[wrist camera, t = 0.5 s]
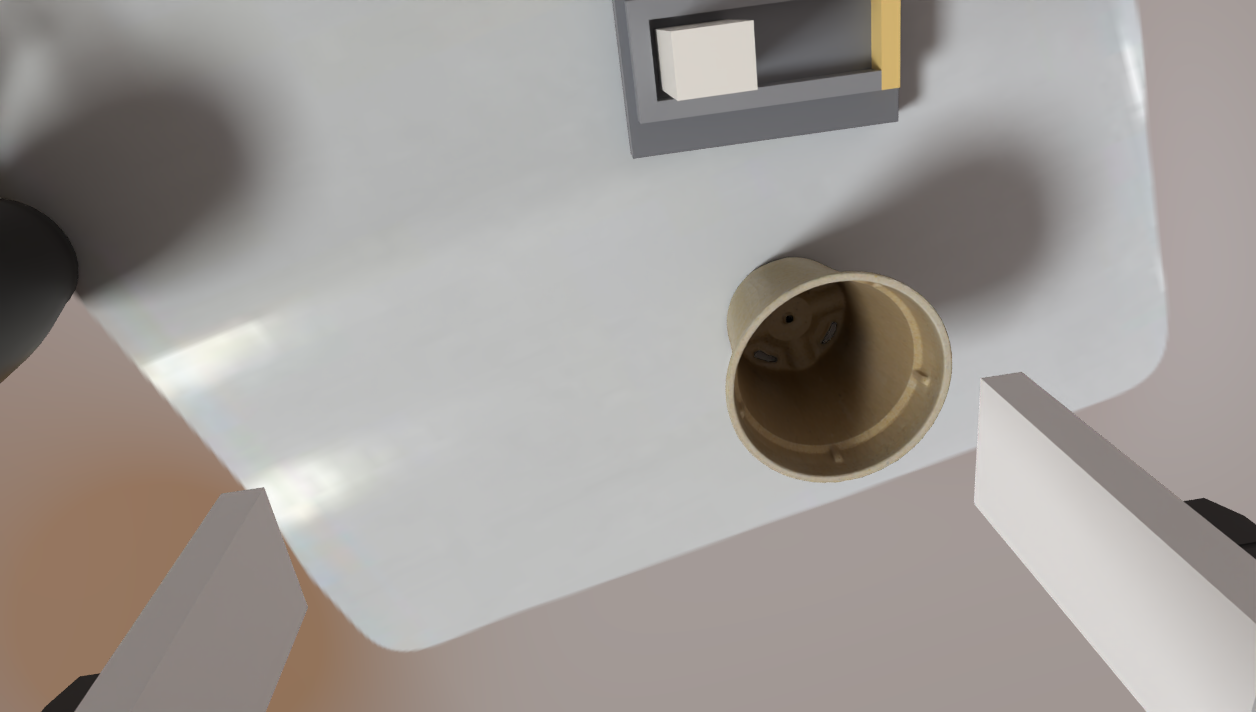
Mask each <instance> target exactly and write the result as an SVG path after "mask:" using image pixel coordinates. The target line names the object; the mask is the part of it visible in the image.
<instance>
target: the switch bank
mask: <svg viewBox="0 0 1256 712" xmlns="http://www.w3.org/2000/svg"><path fill="white" fill-rule="evenodd" d="M612 3H613V11H614V20H615V28H616V36H617V44H618V53H619V61H620V69H621V77H622V85H623V94H624V102H625V110H626V118H627V127H628V135H629V143H630V151H631V155H632V157H633V159H634V158H641V157H648V156H655V155H662V154H670V153H677V152H684V151H691V150H698V149H705V148H712V147H719V146H726V145H734V144H741V143H748V142H755V141H762V140H769V139H776V138H783V137H790V136H798V135H805V134H812V133H819V132H826V131H833V130H840V129H847V128H855V127H862V126H869V125H876V124H883V123H890V122H897V121H898V88H900V7H901V0H612ZM724 19H726V20H754V36H755V53H756V70H757V87H758V90H753V91H745V92H738V93H731V94H724V95H717V96H709V97H702V98H695V99H688V100H681V101H677V100H676V99H674V98H673V97H671V96H670V95H669V94H667V93H666V92H664V91H663V90H661V89H660V81H659V71H658V62H657V52H656V43H655V33H654V29H658V28H666V27H673V26H680V25H688V24H695V23H702V22H710V21H717V20H724Z"/></svg>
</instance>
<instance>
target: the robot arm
mask: <svg viewBox="0 0 1256 712" xmlns="http://www.w3.org/2000/svg"><path fill="white" fill-rule="evenodd" d="M974 504H975V505H976V507H977V508H978V509H979V510H980V511H981V512H982V514H983V515H984V516H985V517H986V519H987V520H988V521H989V522H990V523H991V525H992V526H993V527H994V528H995V529H996V531H997V532H998V533H999V534H1000V535H1001V537H1002V538H1003V539H1004V540H1005V542H1006V543H1007V544H1008V545H1009V546H1010V548H1011V549H1012V550H1013V551H1014V552H1015V554H1016V555H1017V556H1018V557H1019V558H1020V560H1021V561H1022V562H1023V563H1024V565H1025V566H1026V567H1027V568H1028V569H1029V571H1030V572H1031V573H1032V574H1033V575H1034V576H1035V578H1036V579H1037V580H1038V581H1039V583H1040V584H1041V585H1042V586H1043V587H1044V589H1045V590H1046V591H1047V592H1048V593H1049V595H1050V596H1051V597H1052V598H1053V600H1054V601H1055V602H1056V603H1057V604H1058V606H1059V607H1060V608H1061V609H1062V610H1063V612H1064V613H1065V614H1066V615H1067V616H1068V617H1069V619H1070V620H1071V621H1072V622H1073V624H1074V625H1075V626H1076V627H1077V628H1078V630H1079V631H1080V632H1081V633H1082V634H1083V636H1084V637H1085V638H1086V639H1087V640H1088V642H1089V643H1090V644H1091V645H1092V647H1093V648H1094V649H1095V650H1096V651H1097V653H1098V654H1099V655H1100V656H1101V657H1102V659H1103V660H1104V661H1105V662H1106V663H1107V665H1108V666H1109V667H1110V668H1111V669H1112V671H1113V672H1114V673H1115V674H1116V675H1117V677H1118V678H1119V679H1120V680H1121V682H1122V683H1123V684H1124V685H1125V686H1126V688H1127V689H1128V690H1129V691H1130V692H1131V694H1132V695H1133V696H1134V697H1135V698H1136V699H1137V701H1138V702H1139V703H1140V704H1141V706H1142V707H1143V708H1144V709H1145V711H1147V712H1256V525H1255V524H1254V523H1253V522H1251V521H1250V520H1249V519H1248V518H1246V517H1245V516H1243V515H1241V514H1239V513H1237V512H1234V511H1232V510H1230V509H1228V508H1225V507H1223V506H1221V505H1219V504H1217V503H1214V502H1212V501H1210V500H1208V499H1205V498H1201V499H1195V500H1189V501H1182V500H1181V499H1180V498H1178V497H1177V496H1176V495H1175V494H1174V493H1172V492H1171V491H1170V490H1168V489H1167V488H1166V487H1165V486H1164V485H1162V484H1161V483H1160V482H1159V481H1157V480H1156V479H1155V478H1153V477H1152V476H1151V475H1150V474H1148V473H1147V472H1146V471H1145V470H1144V469H1142V468H1141V467H1140V466H1138V465H1137V464H1136V463H1135V462H1134V461H1132V460H1131V459H1130V458H1129V457H1127V456H1126V455H1125V454H1123V453H1122V452H1121V451H1120V450H1119V449H1117V448H1116V447H1115V446H1114V445H1112V444H1111V443H1110V442H1109V441H1107V440H1106V439H1105V438H1104V437H1102V436H1101V435H1100V434H1099V433H1097V432H1096V431H1095V430H1094V429H1092V428H1091V427H1090V426H1088V425H1087V424H1086V423H1085V422H1084V421H1082V420H1081V419H1080V418H1078V417H1077V416H1076V415H1075V414H1074V413H1072V412H1071V411H1070V410H1069V409H1067V408H1066V407H1065V406H1064V405H1062V404H1061V403H1060V402H1059V401H1057V400H1056V399H1055V398H1054V397H1052V396H1051V395H1050V394H1049V393H1047V392H1046V391H1045V390H1044V389H1042V388H1041V387H1040V386H1039V385H1037V384H1036V383H1035V382H1034V381H1032V380H1031V379H1030V378H1029V377H1027V376H1026V375H1025V374H1024V373H1022V372H1018V373H1012V374H1005V375H998V376H992V377H985V378H981V384H980V402H979V420H978V439H977V458H976V475H975V494H974ZM307 608H308V606H307V603H306V601H305V598H304V595H303V593H302V590H301V587H300V584H299V582H298V579H297V576H296V573H295V571H294V568H293V566H292V563H291V560H290V557H289V554H288V552H287V549H286V546H285V543H284V541H283V538H282V535H281V532H280V530H279V527H278V524H277V521H276V519H275V516H274V513H273V511H272V508H271V505H270V502H269V500H268V497H267V494H266V491H265V489H264V487H263V488H256V489H250V490H243V491H237V492H230V493H224V494H221V495H220V497H219V498H218V499H217V501H216V502H215V504H214V505H213V507H212V508H211V510H210V511H209V513H208V514H207V516H206V517H205V519H204V520H203V522H202V523H201V525H200V526H199V528H198V529H197V531H196V532H195V534H194V535H193V537H192V538H191V540H190V541H189V542H188V544H187V545H186V547H185V549H184V550H183V552H182V553H181V555H180V556H179V557H178V559H177V560H176V562H175V563H174V565H173V566H172V568H171V569H170V571H169V572H168V574H167V575H166V577H165V578H164V580H163V581H162V583H161V584H160V586H159V587H158V589H157V590H156V592H155V593H154V594H153V596H152V597H151V599H150V600H149V602H148V603H147V605H146V606H145V608H144V609H143V611H142V612H141V614H140V615H139V617H138V618H137V620H136V621H135V623H134V624H133V626H132V627H131V629H130V630H129V632H128V633H127V635H126V636H125V637H124V639H123V640H122V642H121V644H120V645H119V646H118V648H117V649H116V651H115V652H114V654H113V655H112V657H111V658H110V660H109V661H108V663H107V664H106V666H105V667H104V669H103V670H102V672H101V673H100V674H94V675H87V676H80V677H79V678H78V679H76V680H75V681H74V682H73V683H72V684H71V685H70V686H68V687H67V688H66V689H65V690H64V691H63V692H61V694H59V695H58V696H57V697H56V698H55V699H54V700H52V701H51V702H50V703H49V704H48V705H47V706H46V707H45V708H44V709H43V710H42V712H266V709H267V707H268V704H269V702H270V699H271V697H272V695H273V692H274V690H275V687H276V684H277V682H278V680H279V677H280V675H281V672H282V670H283V667H284V665H285V663H286V660H287V658H288V655H289V653H290V650H291V648H292V645H293V643H294V640H295V638H296V635H297V633H298V631H299V628H300V626H301V623H302V621H303V618H304V616H305V613H306V611H307Z"/></svg>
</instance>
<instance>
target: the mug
mask: <svg viewBox="0 0 1256 712" xmlns="http://www.w3.org/2000/svg"><path fill="white" fill-rule="evenodd" d="M77 281H78V262H77V258H76V255H75V251H74V249H73V247H72V245H71V243H70V241H69V240H68V238H67V236H66V235H65V234H64V233H63V231H62V230H61V229H60V228H59V227H58V226H57V225H56V224H55V223H54V222H53V221H52V220H51V219H49V218H48V217H47V216H46V215H44V214H42V213H41V212H39V211H37V210H36V209H34V208H32V207H30V206H27V205H25V204H22V203H20V202H17V201H11V200H6V199H0V383H1V382H2V381H4V379H6V378H7V377H8V376H9V375H10V374H11V373H12V372H13V371H14V370H15V369H17V368H18V366H20V364H22V363H23V362H24V361H25V360H26V359H27V358H28V357H29V356H30V355H31V354H32V353H33V352H34V351H35V349H36V348H37V347H38V346H39V345H40V344H41V343H42V341H43V340H44V338H45V337H46V336H47V334H48V333H49V332H50V330H51V328H52V327H53V325H54V323H55V322H56V320H57V318H58V317H59V315H60V313H61V311H62V310H63V308H64V306H65V304H66V303H67V302H68V300H69V299H70V298H71V296H72V294H73V293H74V291H75V289H76V285H77Z"/></svg>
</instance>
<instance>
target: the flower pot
mask: <svg viewBox="0 0 1256 712" xmlns="http://www.w3.org/2000/svg"><path fill="white" fill-rule="evenodd" d="M790 315H792V317H793V321H792V322H790V323H787V322H786V316H790ZM832 322H836V323H837V325H836V331H835V333H834V334H833V337H832V338H831V340H830V341H828V342H827V343H825V344H823V343H822V341H823V339H824V338H825V336H826V334H827V332H828V330H829V329H830V326H831V324H832ZM727 330H728V336H729V340H730V343H731V348H732V356H731V359H730V362H729V366H728V371H727V376H726V402H727V408H728V412H729V416H730V419H731V422H732V425H733V427H734V429H735V432H736V434H737V435H738V437H739V439H740V440H741V442H742V443H743V445H744V446H745V447H746V448H747V449H748V451H749V452H750V453H751V454H752V455H753V456H754V457H755V458H756V459H758V460H759V461H760V462H762V463H763V464H765V465H766V466H768V467H769V468H770V469H772V470H775V471H777V472H779V473H781V474H783V475H786V476H789V477H792V478H795V479H799V480H804V481H810V482H822V483H826V482H841V481H845V480H852V479H856V478H861V477H864V476H866V475H870V474H872V473H874V472H877V471H879V470H881V469H883V468H885V467H887V466H888V465H890V464H892V463H894V462H896V461H898V460H899V459H900V458H901V457H903V456H904V455H905V454H906V453H908V452H909V451H910V450H911V449H912V448H913V447H915V445H916V444H918V443H919V441H920V440H921V439H922V438H923V437H924V435H925V434H926V433H927V431H928V430H929V429H930V427H932V425H933V424H934V421H935V420H936V418H937V416H938V414H939V412H940V410H941V408H942V406H943V404H944V401H945V399H946V396H947V393H948V390H949V385H950V380H951V374H952V352H951V346H950V341H949V337H948V334H947V331H946V329H945V326H944V324H943V322H942V319H941V318H940V316H939V315H938V313H937V312H936V310H935V309H934V308H933V307H932V305H931V304H930V303H929V302H928V301H927V300H926V299H925V298H924V297H923V296H921V295H920V294H919V293H918V292H916V291H915V290H913V289H912V288H910V287H909V286H907V285H905V284H904V283H902V282H900V281H898V280H895V279H893V278H890V277H887V276H884V275H880V274H875V273H871V272H860V271H845V272H839V271H836V270H834V269H832V268H829V267H827V266H825V265H822V264H821V263H819V262H816V261H813V260H810V259H806V258H799V257H788V258H783V259H780V260H776V261H773V262H771V263H768V264H766V265H763V266H761V267H759V268H758V269H756V270H754V271H753V272H751V273H750V274H749V275H748V276H747V277H746V278H745V279H744V280H743V281H742V283H741V284H740V285H739V286H738V288H737V290H736V291H735V293H734V295H733V297H732V299H731V302H730V305H729V309H728V314H727ZM757 351H762V352H764V353H765V354H767V355H770V356H773V357H776V358H777V361H776V362H773V361H770V362H768V361H765V360H761V359H758V358H756V357H754V355H755V352H757Z"/></svg>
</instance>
